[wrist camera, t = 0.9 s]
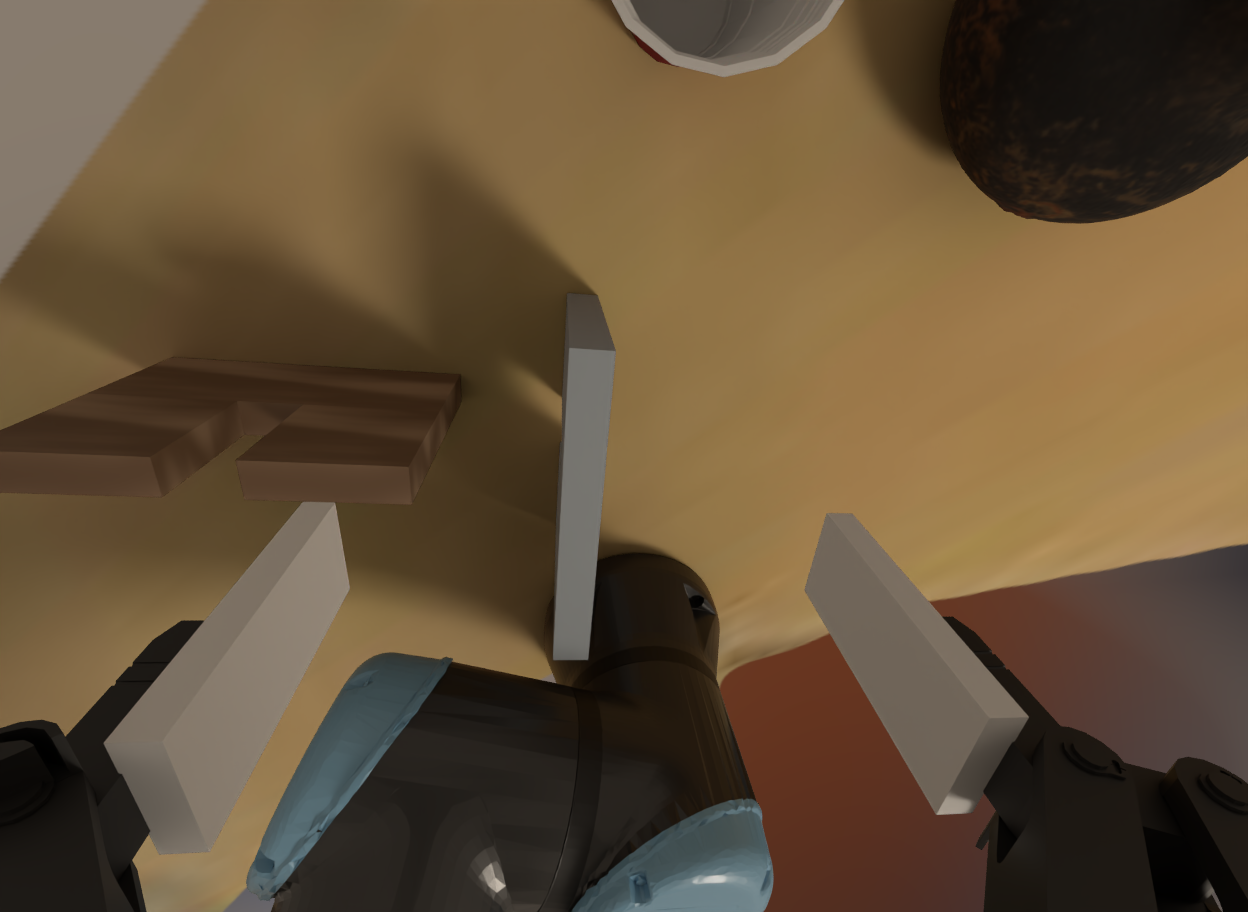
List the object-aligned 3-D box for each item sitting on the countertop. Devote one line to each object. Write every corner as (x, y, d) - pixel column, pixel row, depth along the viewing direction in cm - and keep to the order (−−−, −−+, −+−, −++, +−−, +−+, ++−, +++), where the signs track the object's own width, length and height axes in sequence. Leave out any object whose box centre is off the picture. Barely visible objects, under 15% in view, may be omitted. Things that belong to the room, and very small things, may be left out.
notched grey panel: (581, 525, 44) (588, 660, 31) (555, 524, 44) (552, 660, 31) (597, 295, 36) (615, 351, 24) (567, 292, 36) (569, 348, 23)
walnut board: (461, 401, 38) (411, 504, 26) (180, 386, 36) (-25, 491, 23) (460, 374, 37) (408, 466, 25) (172, 357, 35) (-45, 449, 23)
